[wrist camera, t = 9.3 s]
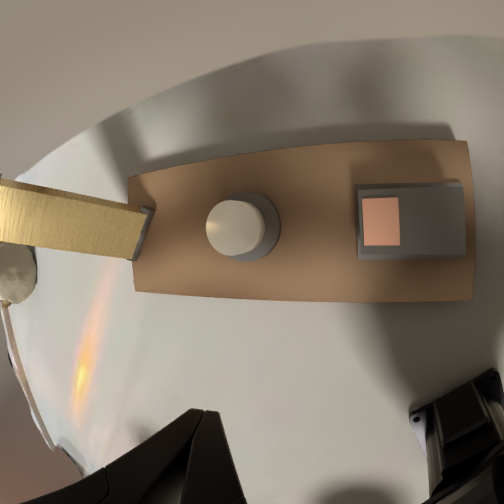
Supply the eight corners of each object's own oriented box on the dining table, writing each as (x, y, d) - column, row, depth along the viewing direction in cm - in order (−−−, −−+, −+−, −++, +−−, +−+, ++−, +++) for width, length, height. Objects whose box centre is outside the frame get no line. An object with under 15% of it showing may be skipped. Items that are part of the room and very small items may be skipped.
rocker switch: (462, 252, 11) (466, 255, 10) (364, 251, 13) (360, 254, 12) (460, 188, 11) (463, 186, 10) (362, 192, 13) (356, 189, 12)
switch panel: (464, 293, 13) (476, 303, 11) (148, 286, 21) (128, 293, 19) (459, 147, 12) (470, 137, 10) (141, 179, 21) (120, 176, 19)
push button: (266, 252, 15) (257, 255, 14) (219, 253, 16) (207, 255, 15) (263, 199, 14) (254, 197, 13) (216, 203, 15) (204, 202, 14)
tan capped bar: (159, 215, 18) (-27, 178, 9) (141, 264, 19) (-33, 240, 10) (151, 205, 19) (-21, 169, 10) (134, 252, 20) (-28, 228, 11)
